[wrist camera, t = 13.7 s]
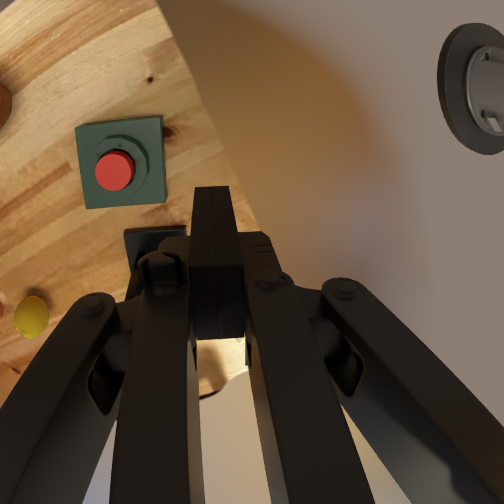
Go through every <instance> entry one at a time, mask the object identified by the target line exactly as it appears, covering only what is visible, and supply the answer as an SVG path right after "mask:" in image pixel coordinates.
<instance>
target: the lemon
mask: <svg viewBox="0 0 504 504" xmlns="http://www.w3.org/2000/svg"><path fill="white" fill-rule="evenodd" d="M48 320H49V310H48V307H47V305H46V303H45V302H44V301H43V300H42V299H41V298H39V297H36V296H29V297H26V298H24V299H23V300H22V301H21V302H20V303H19V304H18V306H17V309H16V311H15V315H14V324H15V327H16V329H17V331H18V332H19V333H20V334H21V335H22V336H23V337H25V338H36V337H38V336H39V335H40V334H41V333H42V332H43V331H44V330H45V328H46V326H47V324H48Z"/></svg>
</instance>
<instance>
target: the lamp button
mask: <svg viewBox="0 0 504 504" xmlns="http://www.w3.org/2000/svg"><path fill="white" fill-rule="evenodd" d="M133 173H134V164H133V161H132V159H131V158H130V156H129V155H128V154H126V153H124V152H122V151H111V152H109V153H107V154H106V155H105V156H103V157H102V158H101V159H100V160H99V162H98V163H97V165H96V169H95V175H96V179H97V181H98V183H99V184H100V185H101V186H102V187H103V188H105V189H107V190H110V191H117V190H120V189H122V188H124V187H125V186H126V185H127V184H128V182H129V181H130V179H131V178H132V176H133Z"/></svg>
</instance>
